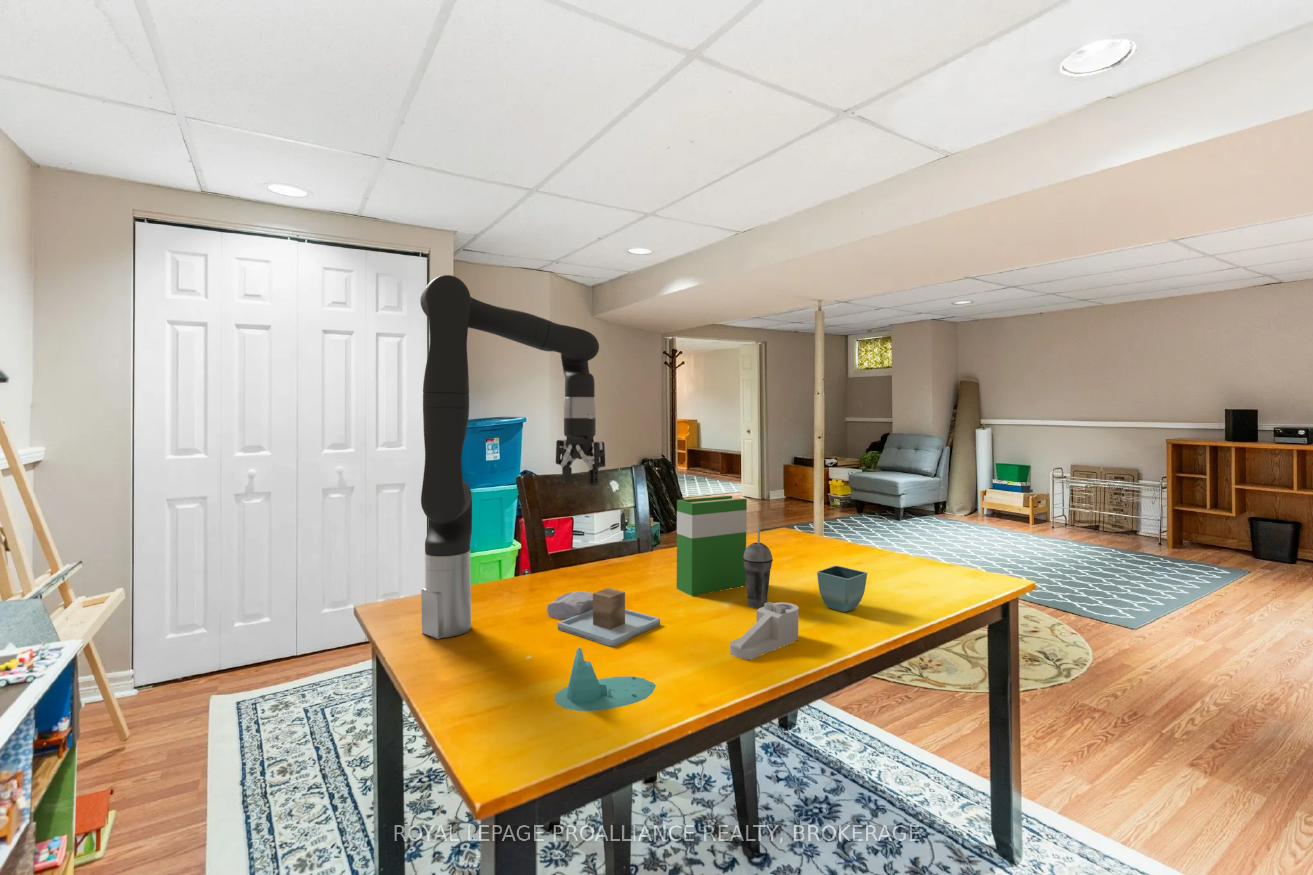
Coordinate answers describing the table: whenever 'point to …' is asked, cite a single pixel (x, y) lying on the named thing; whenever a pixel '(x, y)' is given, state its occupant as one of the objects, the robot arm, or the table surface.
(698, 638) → the table surface
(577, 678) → the diorama
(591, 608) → the stone block
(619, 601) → the walnut block
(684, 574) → the hardback book
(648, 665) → the table surface
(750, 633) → the sloped support bracket
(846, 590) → the flower pot
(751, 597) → the beverage cup
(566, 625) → the dish
